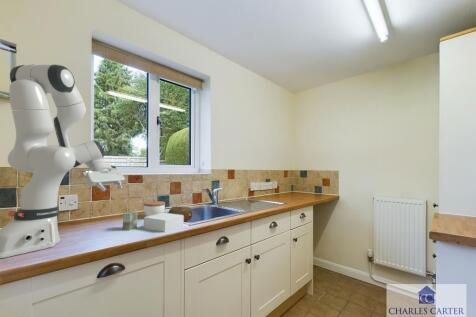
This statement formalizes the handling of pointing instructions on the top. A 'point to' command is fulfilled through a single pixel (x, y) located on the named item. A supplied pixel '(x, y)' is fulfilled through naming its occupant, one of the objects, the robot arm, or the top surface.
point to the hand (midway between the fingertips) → (113, 189)
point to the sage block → (130, 220)
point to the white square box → (163, 222)
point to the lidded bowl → (154, 207)
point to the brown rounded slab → (182, 212)
